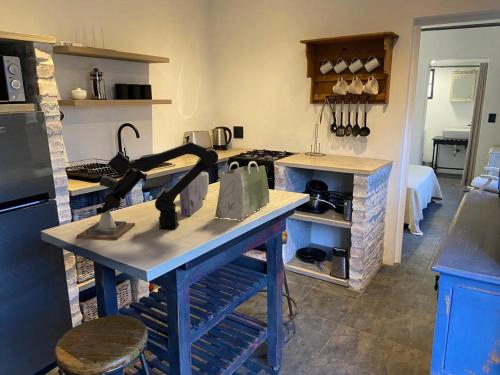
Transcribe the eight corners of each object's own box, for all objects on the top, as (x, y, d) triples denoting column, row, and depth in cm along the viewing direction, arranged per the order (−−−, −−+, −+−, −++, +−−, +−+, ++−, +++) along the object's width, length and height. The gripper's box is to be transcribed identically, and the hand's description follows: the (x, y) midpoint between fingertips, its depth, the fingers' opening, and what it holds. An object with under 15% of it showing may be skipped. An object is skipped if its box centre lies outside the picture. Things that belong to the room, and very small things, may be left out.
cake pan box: (194, 204, 183) (192, 169, 179) (204, 205, 182) (202, 169, 178) (179, 216, 165) (177, 177, 160) (190, 216, 164) (188, 177, 159)
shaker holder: (135, 225, 153) (134, 219, 152) (117, 239, 138) (116, 233, 137) (98, 224, 155) (97, 218, 154) (76, 238, 139) (75, 231, 139)
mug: (188, 194, 203) (186, 170, 200) (208, 193, 205) (207, 169, 202) (188, 201, 189) (186, 176, 186) (209, 200, 190) (208, 175, 187)
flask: (118, 229, 145) (116, 204, 143) (99, 233, 141) (96, 207, 139) (114, 224, 151) (112, 200, 149) (95, 227, 147) (93, 203, 145)
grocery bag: (245, 200, 190) (244, 155, 185) (270, 203, 184) (270, 156, 179) (213, 218, 162) (211, 165, 156) (242, 222, 156) (241, 167, 151)
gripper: (115, 164, 150) (90, 192, 151) (106, 172, 132) (77, 204, 133) (137, 182, 153) (112, 209, 154) (131, 192, 135) (103, 223, 136)
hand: (101, 211), depth 144 cm, fingers closed on flask, 3 cm apart
